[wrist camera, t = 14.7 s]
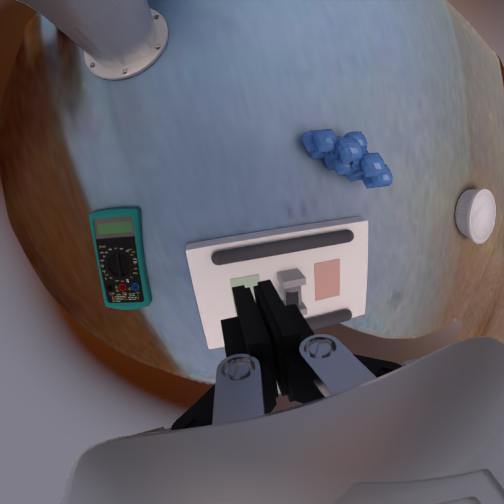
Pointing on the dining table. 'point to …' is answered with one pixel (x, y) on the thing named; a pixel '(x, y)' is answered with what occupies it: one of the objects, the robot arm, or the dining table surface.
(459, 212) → the ramekin
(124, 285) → the digital multimeter
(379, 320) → the dining table surface
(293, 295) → the breaker lever
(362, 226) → the switch base plate
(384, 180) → the grapes
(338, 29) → the dining table surface
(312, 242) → the pair of dark bars
